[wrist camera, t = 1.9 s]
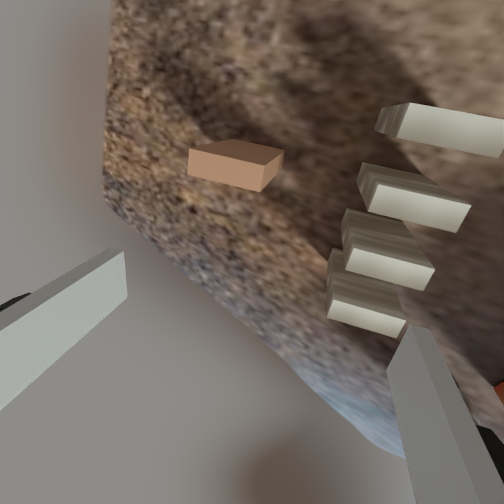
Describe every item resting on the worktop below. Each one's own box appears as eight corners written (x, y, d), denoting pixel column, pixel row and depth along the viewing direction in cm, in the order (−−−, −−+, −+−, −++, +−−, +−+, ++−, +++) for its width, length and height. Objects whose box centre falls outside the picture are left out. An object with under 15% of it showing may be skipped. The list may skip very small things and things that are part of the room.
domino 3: (346, 207, 31) (353, 248, 22) (401, 221, 30) (435, 269, 21) (340, 224, 32) (345, 270, 22) (394, 237, 31) (422, 291, 22)
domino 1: (381, 107, 27) (409, 102, 17) (448, 120, 26) (518, 122, 16) (373, 130, 27) (396, 137, 18) (437, 143, 27) (498, 158, 17)
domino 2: (362, 161, 29) (378, 184, 19) (423, 175, 28) (471, 205, 18) (355, 181, 30) (367, 211, 20) (414, 194, 29) (455, 232, 19)
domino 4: (332, 247, 34) (333, 299, 24) (383, 260, 33) (406, 320, 23) (327, 261, 34) (326, 317, 25) (377, 275, 34) (396, 338, 24)
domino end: (232, 138, 31) (189, 148, 21) (285, 150, 30) (264, 165, 21) (230, 157, 32) (187, 174, 22) (281, 168, 31) (259, 192, 22)
